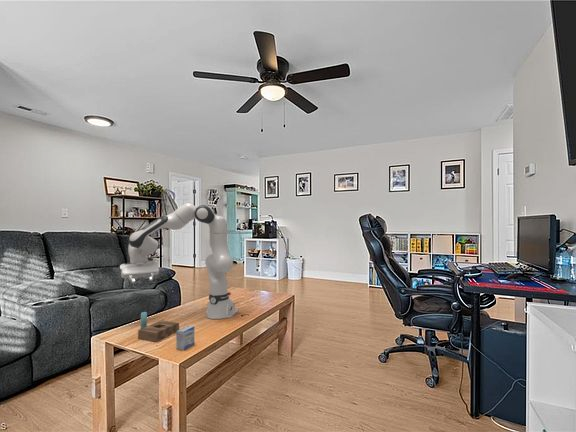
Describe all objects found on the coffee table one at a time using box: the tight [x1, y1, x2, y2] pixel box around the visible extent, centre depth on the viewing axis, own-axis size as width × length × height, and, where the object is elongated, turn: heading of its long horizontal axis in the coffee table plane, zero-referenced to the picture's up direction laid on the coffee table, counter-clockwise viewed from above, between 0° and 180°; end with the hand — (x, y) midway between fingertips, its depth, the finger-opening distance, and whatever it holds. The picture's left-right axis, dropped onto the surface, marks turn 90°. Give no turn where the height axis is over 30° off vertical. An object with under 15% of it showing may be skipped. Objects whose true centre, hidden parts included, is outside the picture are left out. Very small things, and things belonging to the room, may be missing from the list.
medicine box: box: [175, 325, 195, 351], centre depth 138 cm, size 8×4×9 cm, turn 160°
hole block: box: [137, 319, 180, 343], centre depth 153 cm, size 16×12×4 cm
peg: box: [140, 311, 148, 329], centre depth 158 cm, size 3×3×10 cm
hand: (142, 281), depth 168 cm, fingers open, 8 cm apart
